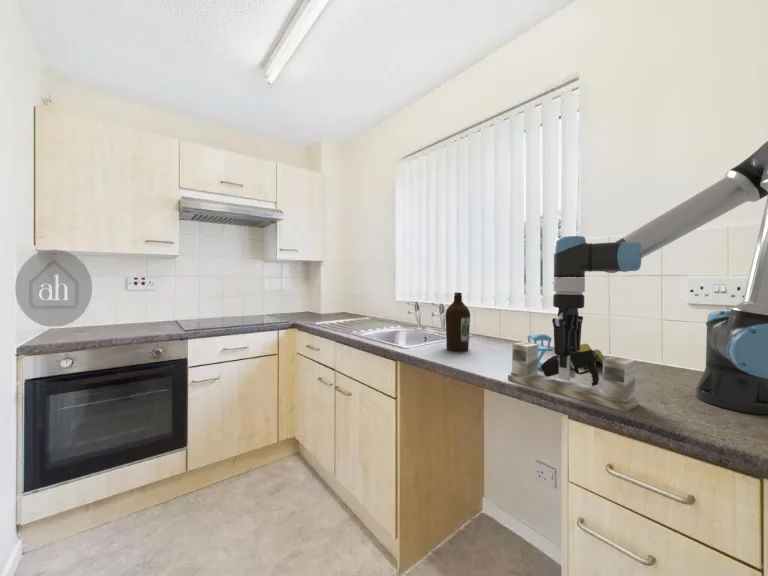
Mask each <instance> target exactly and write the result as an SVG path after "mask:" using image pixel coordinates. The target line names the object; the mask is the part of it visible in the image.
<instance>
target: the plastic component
mask: <svg viewBox="0 0 768 576" xmlns="http://www.w3.org/2000/svg"><path fill="white" fill-rule="evenodd" d="M587 350H593V351H594V352H595V354H596V356H597V360H596V362H598V363H600V364H602V365H603V359H606V358H605V356H604V354H603V353H602V351H601V350H599V349H597V348H595V349H592V348H591V346H590V345H589V344H587V343H582V344H580V350H579V352H583V351H587ZM596 362H595V363H594V364H595V366H597V363H596ZM586 368H587V366H586Z"/></svg>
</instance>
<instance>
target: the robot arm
mask: <svg viewBox="0 0 768 576" xmlns="http://www.w3.org/2000/svg"><path fill="white" fill-rule="evenodd" d="M765 197H767V199H766V201H765V207H764V210H763V216H762V219H761V222H760V228H759V231H758V232H759V233H758V235H757V240H756V244H755V247H754V248H755V249H754V252H753V256H752V260H751V265H750V270H749V274H748V278H747V282H746V287H745V291H744V295H743V299H742V302H740V303H738V304H736V305H733V306H732V307H731V308H730V310H716V311H711V312H709V313H708V314H707V319H706V322H705V325H706V344H705V345H706V347H705V368H704V371H703V373H702V375H701V377H700V379H699V381H698V383H697V385H696V387H695V397H696V398H698V400H700V401H702V402H705V403H708V404H710V405H713V406H717V407H720V408H723V409H728V410H732V411H737V412H741V413H742V412H743V413H749V414H756V415H766V416H767V415H768V140H767V141H766V142H765V143H764V144H762V145H761V146H760V147H759V148H758V149H757V150H756V151H754V152H753V153H752V154H751V155H750V156H748V157H747V158H745V160H743V161H741V162H740V163H739V164H737V165H736V166H734V167H732V168H731V169H729V170H728V171H726V172H725V175H724V178H722V179H721V180H718V181H717V182H715V183H713V184H711V185H710V186H708V187H707V188H705V189H704V190H702V191H699V192H698V193H697V194H695V195H693V196H692V197H690V198H688V199H686V200H684V201H683V202H681V203H680V204H678V205H676V206H675V207H673V208H671V209H670V210H668V211H666V212H664V213H663V214H660V215H659V216H657V217H655V218H653V219H652V220H650V221H649V222H647V223H645V224H644V225H642V226H640V227H639V228H637V229H634V230H633V231H632V232H630V233H628V234H626V235H625V236H623V237H622V238H620V239H618V240H616V241H615V242H599V243H597V242H595V243H592V242H591V243H589V242H588V243H587V241H586V237H584V236H581V235H576V236H575V235H574V236H571V235H570V236H562V237H559V238H556V239H555V241H554V249H553V281H552V284H553V292H555V293H554V294H553V295H552V299H553V300H552V306H553V307H554V308H558V311H557V317H556V318H555V317H554V318H552V325H553V345H554V346H553V347H554V350H553V351H554V354H555V355H559V374H558V379H561V380H565V381H571V378H572V379H576V375H577V373H575V371H574V370H570V356H568V355H569V352H572V351H574V352H579V350H580V345H581V341H582V340H581V338H582V325H583V320H584V317H583V315H579V309H583V308H584V307H585V295H584V294H583V293H585V289H586V275H585V274H586V272H589V273H591V272H605V273H606V274H607V273H608V274H617V273H618V272H623V273H627V272H636V271H639V270H640V269H641V267H642V266H641V265H642V259H643V258H645V257H647V256H648V255H651V254H652V253H654V252H656V251H657V250H659V249H662V248H663V247H665V246H667V245H670V244H671V243H673V242H675V241H677V240H678V239H679V238H682V237H684V236H686V235H688V234H689V233H691V232H693V231H695V230H697V229H698V228H701V227H702V226H704V225H706V224H708V223H710V222H712V221H713V220H715V219H717V218H720V217H721V216H722V215H725V214H726V213H728V212H730V211H732V210H734V209H736V208H737V207H739V206H741V205H743V204H745V203H748V202H751V203H753V202H754V203H755V202H757V201H759V200H760V201H761V199H763V198H765Z"/></svg>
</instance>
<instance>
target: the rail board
mask: <svg viewBox="0 0 768 576" xmlns="http://www.w3.org/2000/svg"><path fill="white" fill-rule="evenodd" d="M538 345H539V343H537V344H534V342H533V343H532V342H531V343H528V342H527V341H521V342H520V341H519V342H516V343H512V349H511V350H512V353H511V357H512V359H511V372H510V374H507V380H508V381H511V382H514V383H519V384H522V385H525V386H528V387H529V386H530V387H532V388H537V389H540V390H544V391H548V392H551V393H554V394H559V395H563V396H566V397H570V398H574V399H577V400H580V401H583V402H584V401H585V402H588V403H592V404H596V405H599V406H604V407H607V408H610V409H614V410H617V411H622V412H625V413H629V412H630V411H632V410H634V409H635V408H636V407H638V406H639V405H640V398H638V397H636V396H635V395H636V394H635V393H636V391H635V389H636V388H635V387H636V384H635V383H636V359H629V358H625V357H619V356H610V357H607V358H605V359H603V364H602V382H601V383H602V384H601V388H598V387H594V386H592V385H591V386H590V385H586V384H582V383H579V382H578V383H577V382H573V381H571V380H569V381H568V380H564V379H560V378H556V377H552V376H549V377H547V376H545V375H544V374H539V370H538V367H539V365H538V357H539V351H538Z"/></svg>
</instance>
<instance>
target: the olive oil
mask: <svg viewBox="0 0 768 576" xmlns="http://www.w3.org/2000/svg"><path fill="white" fill-rule="evenodd" d="M453 294H454V296H453V302H451V304H450V305H449V306H448V307H447V309H446V311H445V335H446V337H445V338H446V345H445V346H446V349H447V351H451V352H460V353H461V352H467V351H469V345H470V343H469V342H470V328H471V326H470V324H471V313H470V309H469V308H468V307H467V305H466V304H464V303H465V302H463V296H462V294H463V292H454V293H453Z"/></svg>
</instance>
